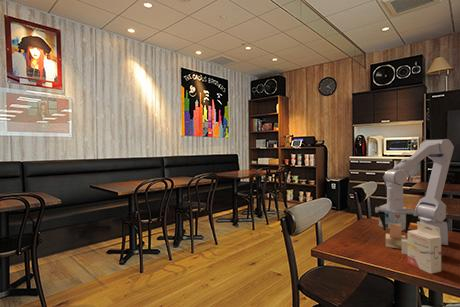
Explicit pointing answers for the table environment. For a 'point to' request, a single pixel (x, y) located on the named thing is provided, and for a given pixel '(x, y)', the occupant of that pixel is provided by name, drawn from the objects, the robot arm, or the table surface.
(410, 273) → the table surface
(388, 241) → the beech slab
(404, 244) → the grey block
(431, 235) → the ink cartridge box
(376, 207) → the robot arm
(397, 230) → the terracotta block
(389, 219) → the light bulb box
